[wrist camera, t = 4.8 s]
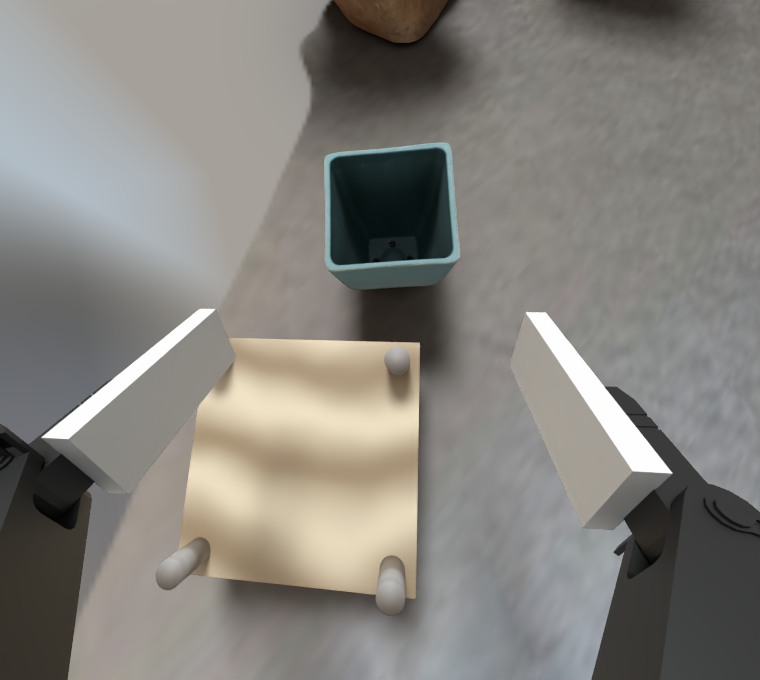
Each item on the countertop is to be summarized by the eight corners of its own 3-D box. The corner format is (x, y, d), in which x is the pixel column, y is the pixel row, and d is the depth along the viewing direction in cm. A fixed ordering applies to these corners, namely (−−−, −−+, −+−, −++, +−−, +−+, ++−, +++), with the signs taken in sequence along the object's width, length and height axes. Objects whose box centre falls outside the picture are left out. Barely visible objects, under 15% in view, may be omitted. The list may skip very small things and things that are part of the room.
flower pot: (442, 303, 26) (462, 261, 18) (350, 308, 27) (323, 271, 18) (436, 217, 28) (451, 139, 19) (348, 225, 29) (323, 152, 20)
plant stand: (250, 348, 27) (182, 331, 19) (416, 352, 26) (422, 336, 17) (229, 528, 25) (140, 600, 16) (413, 545, 23) (417, 634, 15)
